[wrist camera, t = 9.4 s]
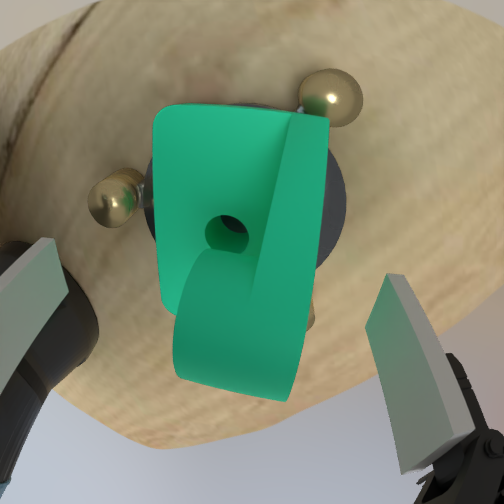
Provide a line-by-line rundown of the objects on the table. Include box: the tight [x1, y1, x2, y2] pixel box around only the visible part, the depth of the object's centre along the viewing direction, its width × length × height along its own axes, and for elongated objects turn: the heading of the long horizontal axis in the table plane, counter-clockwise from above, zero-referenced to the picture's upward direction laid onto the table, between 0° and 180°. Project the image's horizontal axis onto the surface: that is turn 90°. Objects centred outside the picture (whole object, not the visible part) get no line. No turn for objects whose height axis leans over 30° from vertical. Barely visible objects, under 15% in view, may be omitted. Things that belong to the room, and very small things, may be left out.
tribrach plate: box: [88, 69, 363, 331], centre depth 18 cm, size 16×17×3 cm
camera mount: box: [152, 103, 330, 402], centre depth 12 cm, size 12×8×10 cm, turn 175°
